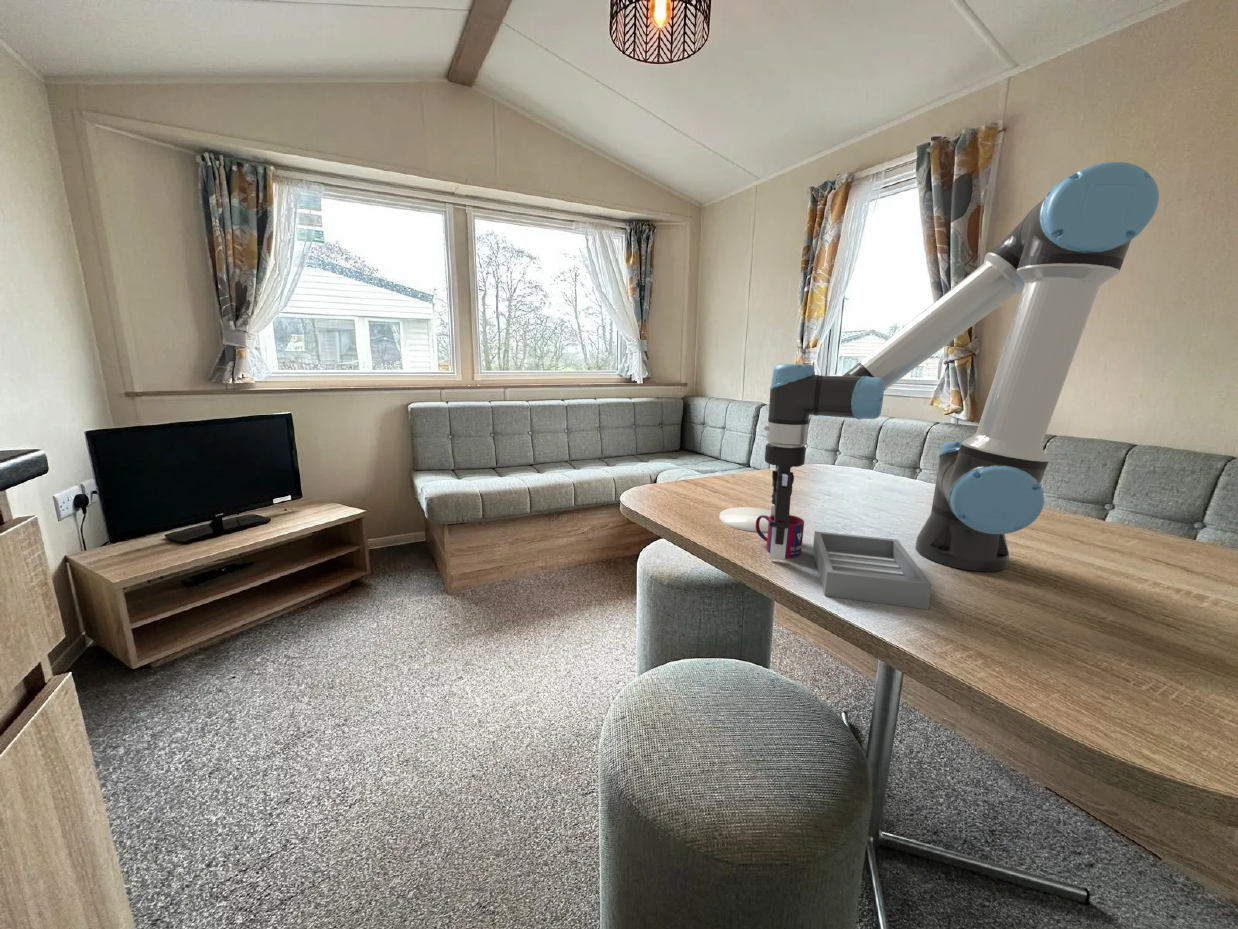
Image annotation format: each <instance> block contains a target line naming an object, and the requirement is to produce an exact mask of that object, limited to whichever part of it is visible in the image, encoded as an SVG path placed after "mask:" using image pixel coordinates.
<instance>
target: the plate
mask: <svg viewBox="0 0 1238 929" xmlns="http://www.w3.org/2000/svg"><path fill="white" fill-rule="evenodd" d="M761 515H766V516H768V517H770V516H771V509H770V510H769V509H765V508H759V507H751V506H750V507H749V506H745V507H744V506H740V507H738V506H737V507H731V508H727V509H726V508H725V509H724V510H721V511H720V512H719V517H718V518H719V521H720V520H721V521H720V522H721V523H722V524H724V525H725V524H726V526H728V527H730V528H733V529H737V530H742V531H747V532H753V533H757V531H756V520H757V518H758V517H759V516H761ZM768 523H769V522H768V521H767V520H766V519H765V518H761V519H760V522H759V528H760V531H761V533H768Z"/></svg>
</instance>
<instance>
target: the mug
mask: <svg viewBox="0 0 1238 929" xmlns="http://www.w3.org/2000/svg"><path fill="white" fill-rule="evenodd" d="M761 518H765V519H766V520H767V521H768V522H769V523H768V532H767V535H764V533H763V532H761V531H760V528H759V522H760V519H761ZM778 521H785V520H778ZM770 522H772V523H774V515H772V516H770V517H768V516H766V515H761V516H759V517H758V518H757V520H756V531H757V532H756V533H757V534H758V537H760V538H761V539H762V540H763V541H765V542H766V551H767V552H768V553H769V554H770V550H771V539H772V528H773V527H770ZM789 524H790V525H789V528H788V532H787V542H786V552H785V559H786V558H788V559H789V558H791V559H792V558H798V557H800V556H801V555H802V550H803V549H802V548H803V539H804V538H803V537H804V527H805V526H804V525H805V521H804V519H803V518H801V517H799V516H795V515H792V514H789Z"/></svg>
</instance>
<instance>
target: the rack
mask: <svg viewBox="0 0 1238 929" xmlns="http://www.w3.org/2000/svg"><path fill="white" fill-rule="evenodd" d="M813 533H814V534H813V545H812V553H813V557H814V561H815V564H816V568H817V572H818V575H819V579H820V584H821V587H822V591H823V595H824V596H825V597H831V598H839V599H840V598H841V599H847V600H855V601H862V602H869V603H877V604H886V605H893V606H900V607H907V608H915V609H922V610H928V609H929V604H930V596H931V592H932V585H933V584H932V583H931V581H929V579H928V578H927V576H926V574H924V573H923V571H922V570H921V569H920V567H919V565H918V564H917V563H916V562H915V560H914V559H913V558H912V557H911V555H910V554H909V552H908V551H907V550H906V549H905V547H904V546H903V545H902V543H901V542H900V541H899V540H898V539H895V538H885V537H878V536H877V537H875V536H868V535H867V536H865V535H854V534H845V533H836V532H825V531H818V530H817V531H816V530H815V531H814V532H813Z"/></svg>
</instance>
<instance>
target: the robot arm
mask: <svg viewBox="0 0 1238 929" xmlns="http://www.w3.org/2000/svg"><path fill="white" fill-rule="evenodd" d="M1159 198H1160V193H1159V187H1158V185H1157V182H1156V180H1155V179H1154V177H1152V175H1151V174H1150V173H1149V172H1148V171H1147V170H1146V169H1144V168H1143V167H1140V166H1138V165H1136V164H1135V163H1130V162H1126V161H1125V162H1124V161H1105V162H1100V163H1095V164H1093V165H1088V166H1086V167H1084V168H1081V169H1080V170H1078V171H1076V172H1074V173H1073V174H1071V175H1068V176H1067V177H1065V178H1064V179H1062V180H1061V181H1059V182H1058V183H1057V184H1055V186H1053V188H1052V189H1050V190H1049V192H1048V193H1047V194H1046V196H1045V197H1043V198H1042V200H1041V201H1040V202H1038V203H1037V204H1036V205H1035V206H1034V207H1033V208H1032V209H1031V210H1030V211H1029V212H1028V213H1027V214H1026V215H1025V216H1024V218H1023V219H1022V220H1021V221H1020V222H1019V223H1018V224H1017V225H1016V226H1015V227H1014V229H1013V230H1012V231H1011V232H1010V233H1009V234H1008V235H1007V236H1006V237H1005V238H1003V240H1002V241H1000V242H999V243H998V244H996V246H995V247H993V248H992V249H991V250H990V251H988V252H987V253H986V254H985V255H984V258H983V259H984V260H983V263H982V264H981V265H980V266H979V267H978V268H976V269H975V270H973V271H972V272H971V273H970V274H969V275H967V276H966V277H965V278H964V279H962V280H961V281H960V282H959V283H957V284H956V285H955V286H953V287H952V288H950V290H948V291H947V292H946V293H945V294H944V295H941V297H940V298H939V299H937V300H936V301H935V302H934V303H932V304H931V305H930V306H928V307H927V308H926V309H924V310H923V311H922V312H921V313H919V314H918V315H917V316H915V317H914V318H913V319H911V321H909V322H908V323H907V324H906V325H904V326H903V327H902V328H901V329H899V330H898V331H897V332H896V333H895V334H892V336H891V337H889V338H888V339H887V340H886V341H884V342H883V343H882V344H881V345H879V346H878V347H877V348H876V349H874V350H873V351H872V352H871V353H869V354H868V355H866V356H865V357H864V358H863V359H862V360H861V361H859V362H858V363H857V364H855V365H854V366H853V367H852V368H850V369H849V370H848V371H847V372H845V373H844V374H842V375H819V374H816V372H815V366H814V365H813V364H809V363H808V364H807V363H806V364H801V363H800V364H798V363H796V364H795V363H779V364H777V365H775V366H774V368H773V369H772V370H773V371H772V378H771V384H770V387H769V401H768V402H769V404H768V405H769V407H768V416H767V424H768V425H766V426H765V425H764V427H763V430H764V431H765V432H767V433H766V441H767V442H768V443H767V444H765V449H764V462H765V463H766V464H768V465H772V466H775V470H772V473H771V479H772V494H771V498H772V499H771V505H770V506H771V507H770V511H771V516H772V515H774V523H772V522H770V527H773V528H772V539H771V550H770V553H769V559H773V560H780V561H785V560H786V557H785V552H786V542H787V532H788V528H789V525H790V524H789V515H790V510H791V497H792V494H793V485H794V481H795V474H794V472H791V468H793V467H794V468H798V467H801V466H803V465H805V462H806V452H807V448H806V446H804V445H806V444H808V437H809V436H808V435H809V427H810V426H809V425H810V423H809V422H810V416H816V417H819V416H820V417H821V416H823V417H832V418H833V417H834V418H844V419H845V418H846V419H856V420H865V419H866V420H868V419H869V420H876V419H878V418H879V417H880V416H881V413H882V408H883V403H884V397H885V396H884V395H885V394H884V393H885V391H886V390H888V389H889V388H890V387H892V385H894V384H895V383H897V382H898V381H900V380H901V379H903V378H904V377H905V376H906V375H907V374H909V373H910V372H912V371H913V370H914V369H916V368H917V367H918V366H920V365H921V364H922V363H924V362H926V360H928V359H930V357H932V356H933V355H935V354H936V353H938V352H939V351H941V350H942V349H943V348H944V347H946V346H947V345H948V344H949V343H951V342H952V341H954V340H955V339H957V338H958V337H959V336H960V335H962V334H963V333H965V332H966V331H968V330H969V329H970V328H971V327H973V326H974V325H975V324H977V323H978V322H980V321H981V320H982V319H984V318H985V317H986V316H988V315H989V314H990V313H992V312H993V311H994V310H996V309H997V308H999V307H1000V306H1002V305H1003V304H1004V303H1005V302H1006V301H1008V300H1010V298H1013V297H1014V296H1015V295H1020V298H1019V300H1018V303H1017V306H1016V310H1015V312H1014V316H1013V319H1012V322H1011V325H1010V328H1009V331H1008V335H1007V337H1006V340H1005V344H1004V347H1003V350H1002V352H1001V356H1000V358H999V361H998V365H997V368H996V371H995V374H994V377H993V380H992V384H991V386H990V390H989V393H988V396H987V398H986V401H985V405H984V408H983V411H982V414H981V417H980V420H979V423H978V427H977V429H976V432H975V434H974V435H972V436H970V437H968V438H966V439H964V440H963V441H956V440H955V441H954V440H953V441H952V440H951V441H950V440H949V441H946V442H944V443H942V446H941V449H940V453H939V454H938V458H939V461H938V466H937V467H938V468H937V474H936V480H935V487H934V492H933V499H932V506H931V512H930V515H929V517H928V518H927V520H926V522H925V523H924V525H923V527H922V528H921V530H920V532H918V535H917V537H916V542H915V550H916V551H917V552H918V554H920V555H921V556H923V557H924V558H925V559H926V558H927V559H929V560H931V561H932V562H933V561H934V562H936V563H938V564H942V565H945V566H949V567H952V568H955V569H956V568H957V569H961V570H967V571H973V572H974V571H976V572H987V573H988V572H992V573H993V572H999V571H1003V570H1005V569H1007V568H1008V565H1009V560H1010V552H1009V548H1008V543H1007V539H1006V538H1007V537H1006V534H1007V535H1008V534H1012V533H1015V532H1019V531H1021V530H1023V529H1026V528H1027V527H1029V526H1030V525H1031V524H1032V523H1034V522H1035V521H1036V520H1037V519H1038V518H1039V517H1040V515H1041V513H1042V512H1043V510H1044V506H1045V494H1044V489H1043V487H1042V485H1041V483H1042V481H1043V478H1044V475H1045V473H1046V470H1047V468H1048V464H1049V461H1050V457H1049V456H1048V454H1047V453H1046V452H1045V450H1044V449H1043V446H1042V445H1043V443H1044V442H1043V441H1044V440H1045V439H1044V438H1045V436H1046V433H1047V431H1048V428H1049V425H1050V423H1051V420H1052V417H1053V415H1054V413H1055V409H1056V406H1057V404H1058V401H1059V398H1060V396H1061V393H1062V390H1063V387H1064V385H1065V382H1066V379H1067V376H1068V374H1069V371H1070V368H1071V365H1072V363H1073V360H1074V356H1075V354H1076V352H1077V348H1078V346H1079V344H1080V340H1081V338H1082V335H1083V332H1084V330H1085V327H1086V324H1087V322H1088V319H1089V315H1090V313H1091V310H1092V308H1093V305H1094V302H1095V299H1096V297H1097V295H1098V291H1099V289H1100V286H1102V285H1103V284H1104V283H1106V282H1108V281H1110V280H1111V279H1113V278H1114V277H1117V276H1118V275H1119V274H1120V271H1121V268H1122V266H1123V264H1124V261H1125V258H1126V255H1127V253H1128V251H1129V247H1130V245H1131V242H1132V240H1133V239H1135V238H1136V237H1137V236H1138V235H1140V234H1141V233H1142V232H1143V231H1144V229H1145V228H1146V227H1147V225H1149V223H1150V222H1151V221H1152V219H1153V217H1154V215H1155V213H1156V211H1157V209H1158V206H1159V201H1160V200H1159ZM778 520H785V521H778Z"/></svg>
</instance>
